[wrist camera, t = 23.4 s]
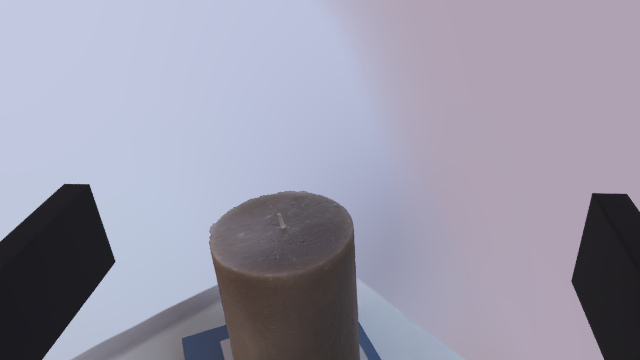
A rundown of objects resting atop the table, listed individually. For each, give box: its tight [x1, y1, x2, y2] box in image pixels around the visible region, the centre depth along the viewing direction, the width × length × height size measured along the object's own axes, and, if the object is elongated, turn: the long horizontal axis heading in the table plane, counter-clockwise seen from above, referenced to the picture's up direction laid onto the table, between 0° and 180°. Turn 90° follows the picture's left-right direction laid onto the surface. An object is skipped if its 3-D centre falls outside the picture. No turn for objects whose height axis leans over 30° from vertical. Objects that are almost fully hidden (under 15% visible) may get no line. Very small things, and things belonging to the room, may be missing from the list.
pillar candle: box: [209, 191, 360, 360], centre depth 37 cm, size 10×10×15 cm
